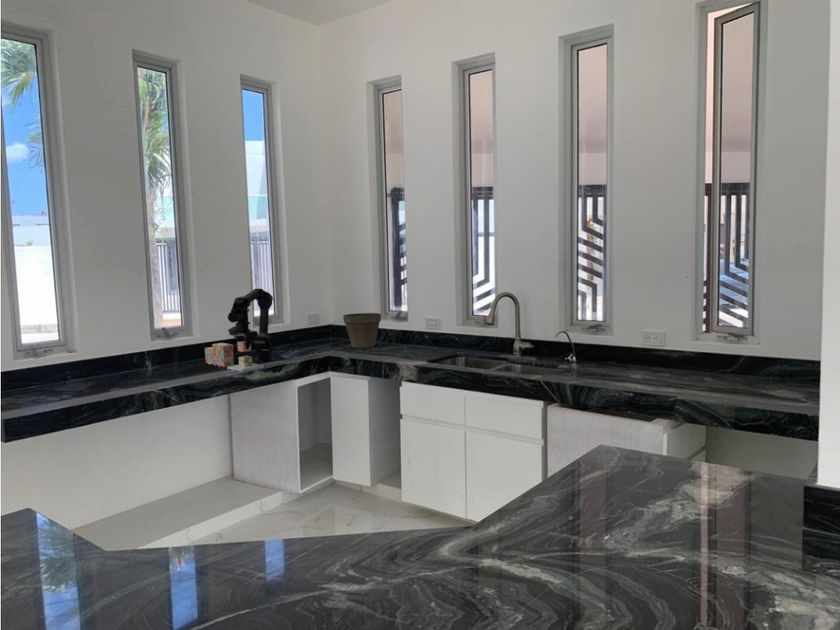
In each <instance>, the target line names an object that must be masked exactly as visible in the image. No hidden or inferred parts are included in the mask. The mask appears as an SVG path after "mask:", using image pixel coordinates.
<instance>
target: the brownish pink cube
mask: <svg viewBox="0 0 840 630" xmlns="http://www.w3.org/2000/svg"><path fill="white" fill-rule="evenodd" d="M237 351H238V352H243V353H245V352H251V351H252V343H251V344H250V346H249V349H246V345H245V340H244V341H241V342H238V341H237Z"/></svg>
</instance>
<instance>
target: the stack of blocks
mask: <svg viewBox="0 0 840 630" xmlns="http://www.w3.org/2000/svg"><path fill="white" fill-rule="evenodd" d="M211 345H212V347H204V355H205V356H204V357H205V364H206V363H207V364H208V365H211V364H213V365H212V366H216V365H218V366H217V367H221V366H223V367H222V368H227V366H234V365H235V361H234V359H235V358H234V344H232V343H231V344H230V343H225V342H217V343H212V344H211ZM207 364H206V365H207Z"/></svg>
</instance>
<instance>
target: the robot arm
mask: <svg viewBox="0 0 840 630" xmlns="http://www.w3.org/2000/svg"><path fill="white" fill-rule="evenodd" d="M255 300H256V301H257V305H258V307H259V327H258V329H259V331H257V330H251V329H250V328H249V326H250V325H251V322H250V321H249V312H250V309H249V307H250V306H251V304H252V302H254V301H255ZM273 301H274V297H273V294H271V293H270V292H268V291H266V290H264V289H262V288H253V290H252V291H249V292H248V293H247V294H246V295H243V296H238V297H236V298H235V299H234V301H233V305H232V307H231V309H230V312H229V313H228V314H227V320H228V321H229V322H230V323H235V325H234V326H232V327H230V328H229V329H227V331H228V334H229V336H233V338H235V339H236V340H237V342H241V341H245V345H246V349H249V346H250V344H251V345H252V341H253V340H254V341H255V342H254V347H255V351H256V352H257V353H258V360H257V363H263V364H266V363H269V362H274V359H273V360H272V352H273V351H274V349H275V347H274V346H273V343H272V342H271V338H270V336H269V334H268V333H269V316H270V312H269V311H270V309H271V307H272V306H273V305H272V304H273Z"/></svg>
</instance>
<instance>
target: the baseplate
mask: <svg viewBox="0 0 840 630" xmlns="http://www.w3.org/2000/svg"><path fill="white" fill-rule="evenodd" d="M226 368H227V370H229V369H231V370H230V371H235V370H237V371H236V372H242V373H243V372H247V371H254V370H259V369H264V368H265V365H264V364H257V363H253V362H252V366H247V367H242V366H239V364H234V366H228V367H226Z"/></svg>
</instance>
